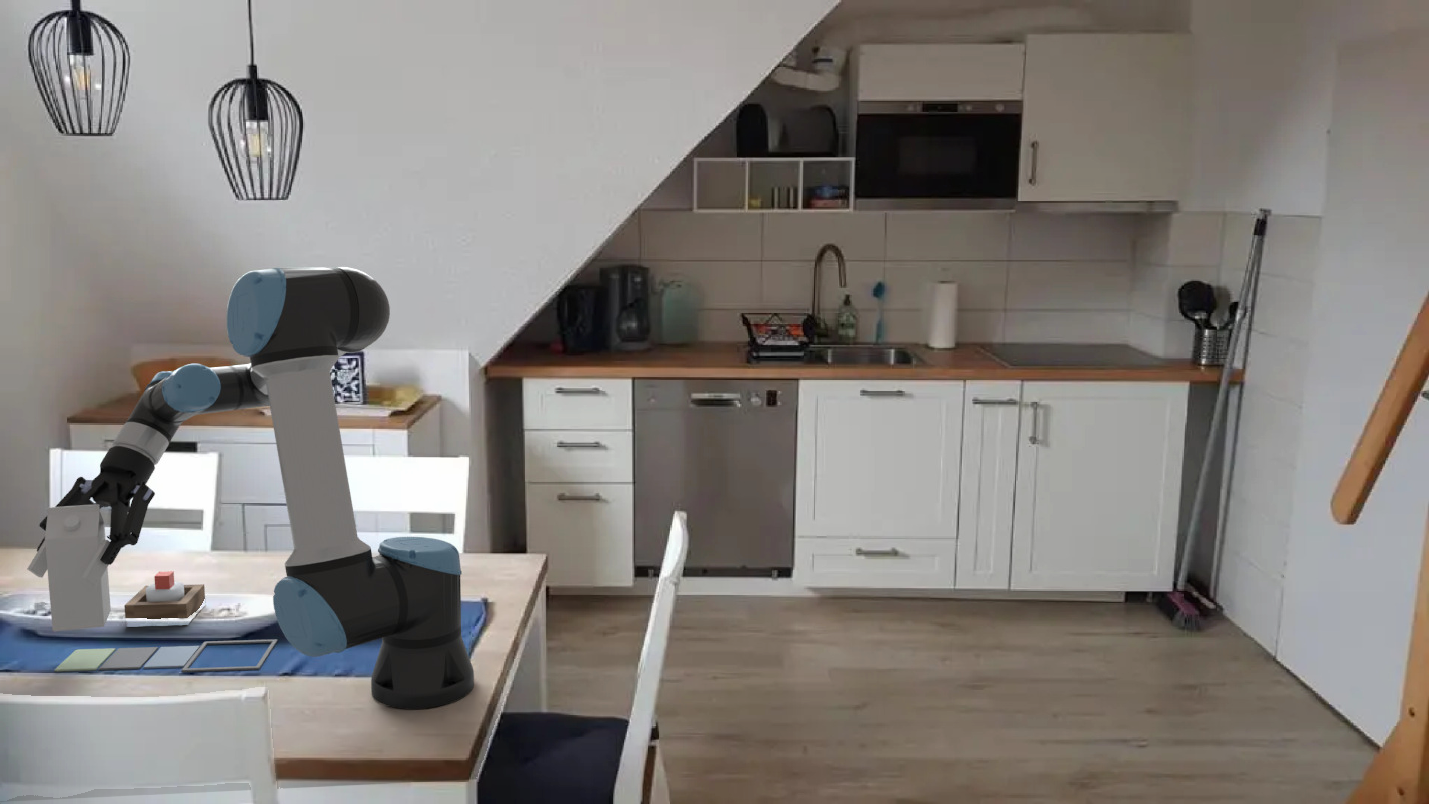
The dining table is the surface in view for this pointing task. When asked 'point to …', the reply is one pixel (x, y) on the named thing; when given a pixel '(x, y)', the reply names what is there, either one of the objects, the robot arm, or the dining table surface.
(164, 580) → the red white stacked block
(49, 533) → the milk carton
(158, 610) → the wooden square tray
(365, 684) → the dining table surface
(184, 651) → the track
